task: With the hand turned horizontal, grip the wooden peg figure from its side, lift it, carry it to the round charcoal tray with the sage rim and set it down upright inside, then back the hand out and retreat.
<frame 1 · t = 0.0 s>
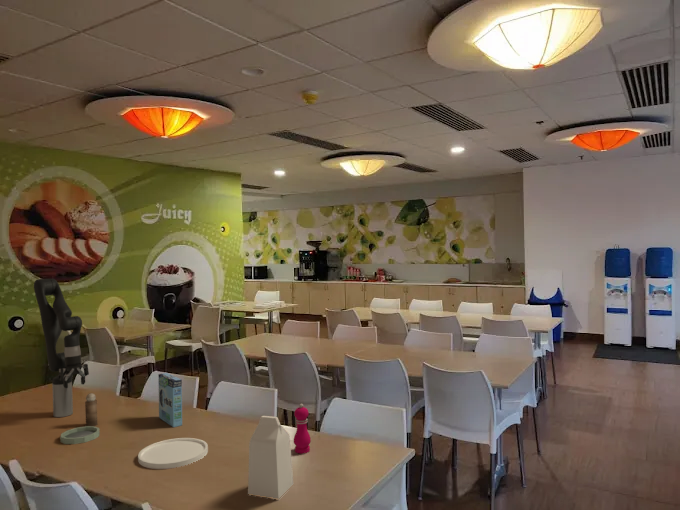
hand: (74, 386, 265), 17 cm above the table, tool pointing down, fingers open, 8 cm apart
light blue cardboard box: (170, 422, 257), on the table
pepper mill: (302, 451, 215), on the table
round tray: (80, 437, 238), on the table
plate: (173, 456, 214), on the table
wooden peg figure: (91, 425, 255), on the table
milk: (271, 490, 180), on the table
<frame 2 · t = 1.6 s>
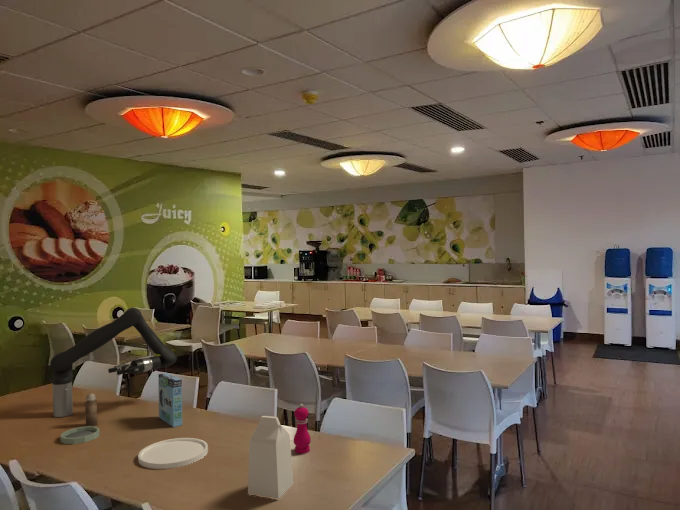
hand: (112, 371, 264), 24 cm above the table, tool horizontal, fingers open, 8 cm apart
nothing on the table moved.
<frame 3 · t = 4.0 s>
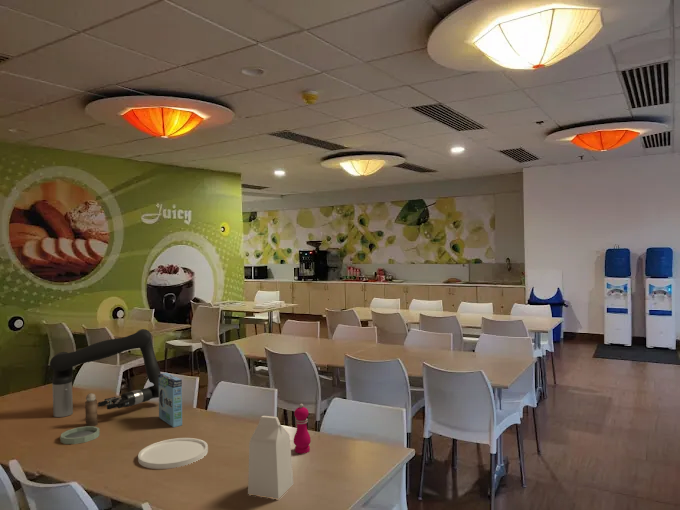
hand: (102, 406, 260), 8 cm above the table, tool horizontal, fingers open, 8 cm apart
nothing on the table moved.
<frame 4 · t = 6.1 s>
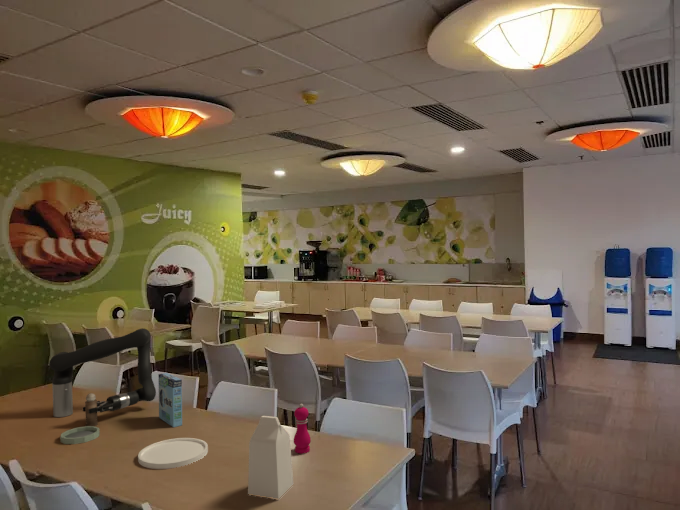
hand: (86, 410, 253), 8 cm above the table, tool horizontal, fingers closed on wooden peg figure, 5 cm apart
wooden peg figure: (91, 425, 255), on the table, touching gripper
everything else where it was.
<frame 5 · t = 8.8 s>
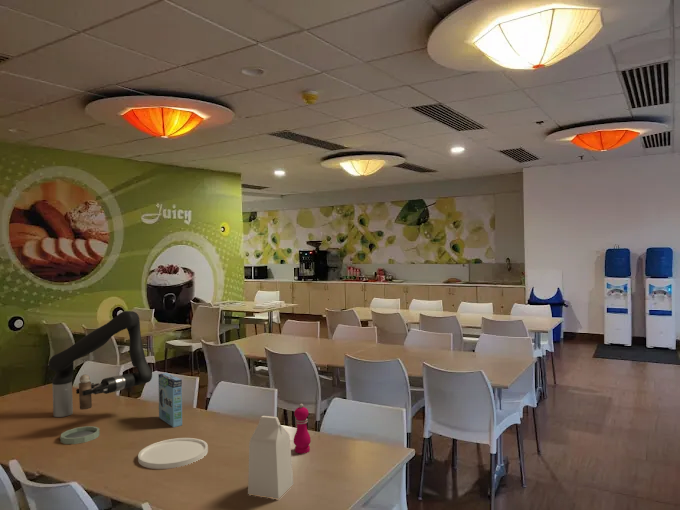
hand: (79, 392, 242), 20 cm above the table, tool horizontal, fingers closed on wooden peg figure, 5 cm apart
wooden peg figure: (85, 407, 244), point 12 cm above the table, touching gripper
everything else where it was.
when the fingers open (10 cm above the table, at t = 11.9 s): wooden peg figure stays where it is, resting on round tray.
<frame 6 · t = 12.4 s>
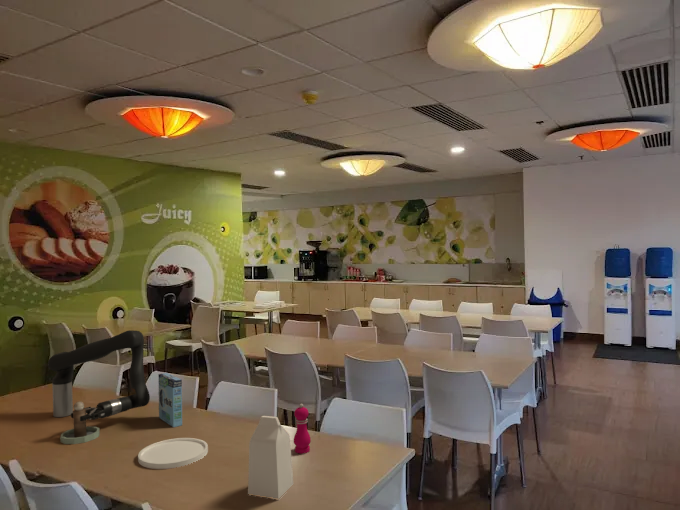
hand: (75, 417, 236), 10 cm above the table, tool horizontal, fingers open, 8 cm apart
wooden peg figure: (80, 435, 238), point 1 cm above the table, touching round tray
everything else where it was.
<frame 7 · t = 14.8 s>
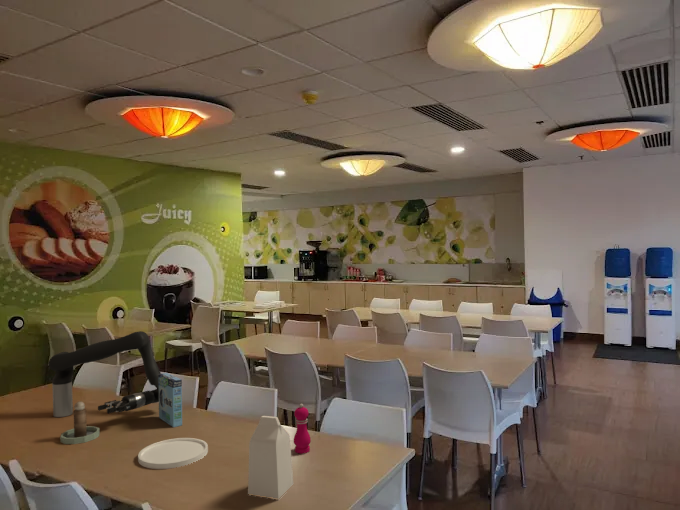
hand: (102, 409, 247), 10 cm above the table, tool horizontal, fingers open, 8 cm apart
nothing on the table moved.
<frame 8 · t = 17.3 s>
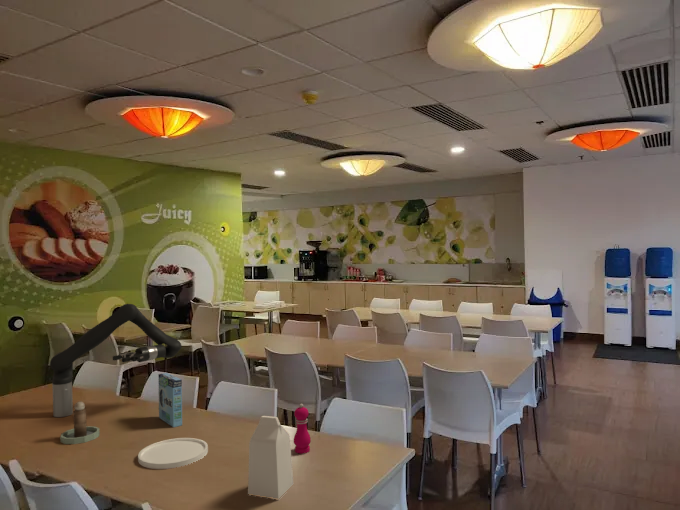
hand: (117, 359, 258), 32 cm above the table, tool horizontal, fingers open, 8 cm apart
nothing on the table moved.
at the end: wooden peg figure inside the target area on the round tray (0.1 cm from its centre), point 0.8 cm above the round tray's base; wooden peg figure tilted 0°; the gripper is holding nothing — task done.
